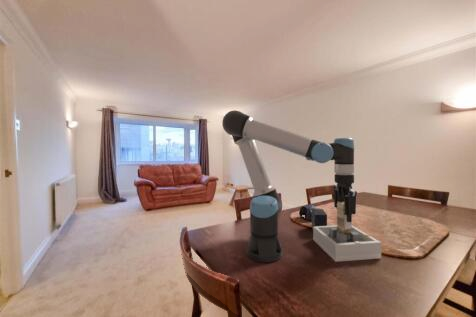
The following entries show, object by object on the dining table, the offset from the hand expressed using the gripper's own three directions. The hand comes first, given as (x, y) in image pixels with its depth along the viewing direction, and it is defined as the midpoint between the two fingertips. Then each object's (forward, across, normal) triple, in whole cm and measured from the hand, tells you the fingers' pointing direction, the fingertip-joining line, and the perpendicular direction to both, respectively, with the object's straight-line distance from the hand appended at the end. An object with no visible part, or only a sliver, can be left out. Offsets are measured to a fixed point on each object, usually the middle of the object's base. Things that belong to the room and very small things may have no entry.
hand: (344, 226), depth 88 cm
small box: (+10, +20, +2) cm, 22 cm away
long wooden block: (+4, 0, 0) cm, 4 cm away
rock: (+10, +38, -1) cm, 39 cm away
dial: (+7, -1, 0) cm, 7 cm away
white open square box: (+10, 0, 0) cm, 10 cm away
